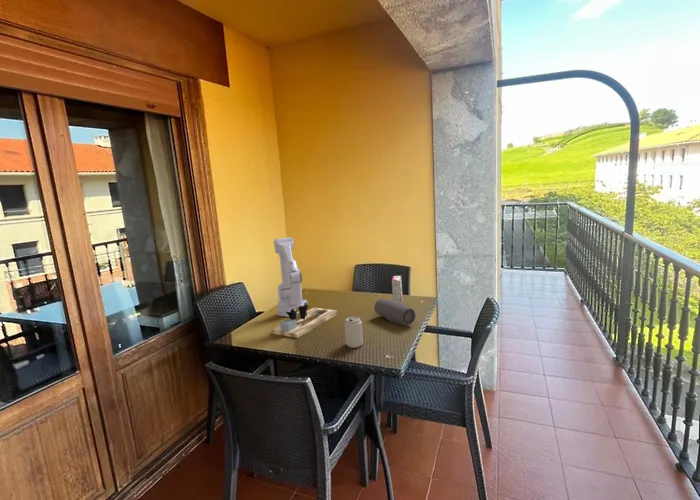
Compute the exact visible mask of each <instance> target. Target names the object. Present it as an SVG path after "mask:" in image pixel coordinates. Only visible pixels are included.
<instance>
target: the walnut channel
mask: <svg viewBox="0 0 700 500" xmlns="http://www.w3.org/2000/svg"><path fill="white" fill-rule="evenodd" d="M306 316H307V312H306V315H305V317H306ZM316 318H318V314H317V313H316V314H314V315H313V316H311V317H309V318H307V319H305V320H303V321H302V326H304V325H305V324H307V323H309V322H311V321H313V320H314V319H316ZM300 319H301V317H300V314H298V315H296V322H297V321H298V320H300Z"/></svg>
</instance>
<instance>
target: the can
mask: <svg viewBox="0 0 700 500" xmlns="http://www.w3.org/2000/svg"><path fill="white" fill-rule="evenodd" d="M344 333H345V335H344V336H345V345H346V346H347V347H349V348H351V349H352V348H353V349H354V348H355V349H356V348H357V349H358V348H360V347H361V346H363V344H364V339H363V338H364V337H363V321H362V320H361V317H358V316H350V317H347V318H345V321H344Z"/></svg>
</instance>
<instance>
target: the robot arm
mask: <svg viewBox="0 0 700 500" xmlns="http://www.w3.org/2000/svg"><path fill="white" fill-rule="evenodd" d="M294 243H295V242H294V238H293V237H291V236H289V237H284V238H283V237H282V238H275V239H274V240H273V247H274V248H273V249H274V253H276V254H278V256H279V263H280V271H281V273H280V274H281V283H280V284H279V285H278V286H277V295H278V296H277V297H278V299H279V300H278V301H277V310H278V311H277V312H278V314H277V316H281V317H285V318H286V317H287V318H289V319H294V320H296V317H297V315H300V317H301V319H305V315H306V311H308V308H309V305H308V300H307V299H303V292H302V282H303V276H302V272H301V270H300V269H299V267H298V263H297V262H296V260H295V259H294V258H293V253H292V251H293V250H294V246H295V244H294ZM296 309H298V310H299V311H296Z"/></svg>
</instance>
